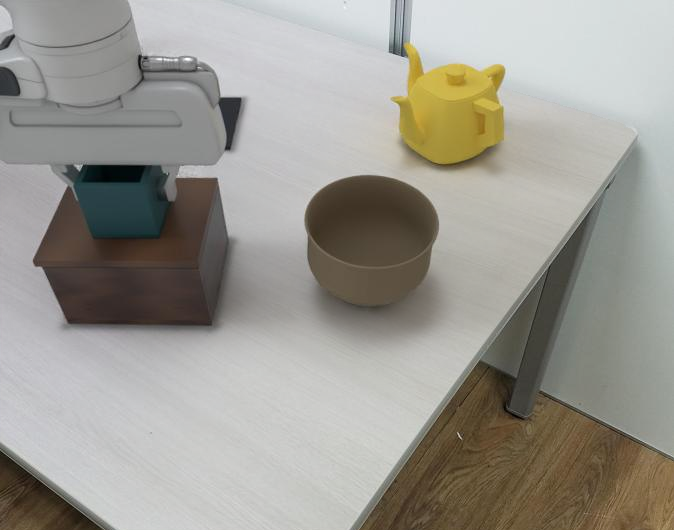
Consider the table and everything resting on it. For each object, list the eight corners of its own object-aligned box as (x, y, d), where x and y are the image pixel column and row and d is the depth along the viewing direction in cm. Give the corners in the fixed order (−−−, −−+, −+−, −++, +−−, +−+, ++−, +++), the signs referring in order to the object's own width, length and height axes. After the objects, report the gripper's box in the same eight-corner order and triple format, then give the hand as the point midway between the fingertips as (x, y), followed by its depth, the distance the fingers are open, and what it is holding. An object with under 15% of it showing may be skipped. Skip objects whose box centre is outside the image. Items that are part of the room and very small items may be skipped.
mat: (122, 149, 90) (121, 146, 90) (142, 99, 98) (141, 97, 98) (230, 149, 90) (229, 147, 89) (241, 99, 97) (241, 97, 97)
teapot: (400, 109, 95) (404, 38, 88) (500, 117, 93) (513, 45, 86) (387, 169, 86) (390, 95, 79) (497, 179, 85) (511, 104, 77)
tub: (92, 238, 66) (72, 186, 61) (109, 196, 70) (91, 144, 65) (159, 238, 65) (144, 186, 61) (172, 196, 70) (159, 144, 65)
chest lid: (35, 267, 64) (32, 260, 64) (73, 183, 73) (71, 177, 72) (198, 268, 64) (197, 261, 63) (218, 184, 72) (217, 177, 71)
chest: (67, 323, 70) (41, 267, 64) (100, 240, 78) (79, 183, 73) (212, 325, 70) (198, 268, 64) (229, 241, 78) (218, 184, 72)
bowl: (354, 355, 67) (353, 280, 59) (286, 278, 74) (278, 203, 66) (456, 301, 71) (468, 225, 64) (383, 233, 78) (386, 158, 71)
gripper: (220, 37, 57) (241, 177, 68) (-26, 37, 58) (32, 176, 68) (208, 77, 53) (232, 219, 63) (-56, 76, 54) (10, 217, 64)
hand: (127, 197), depth 66 cm, fingers closed on tub, 6 cm apart
